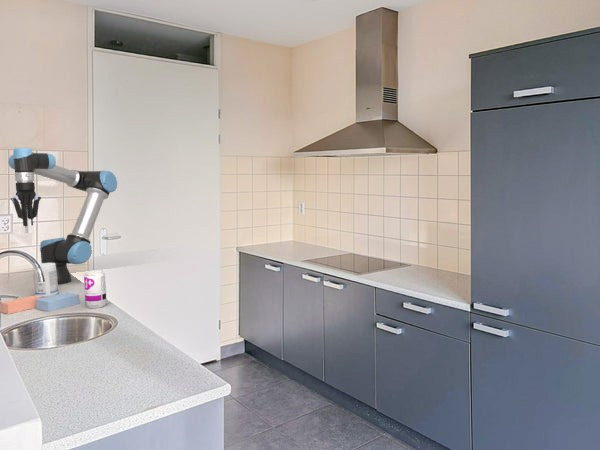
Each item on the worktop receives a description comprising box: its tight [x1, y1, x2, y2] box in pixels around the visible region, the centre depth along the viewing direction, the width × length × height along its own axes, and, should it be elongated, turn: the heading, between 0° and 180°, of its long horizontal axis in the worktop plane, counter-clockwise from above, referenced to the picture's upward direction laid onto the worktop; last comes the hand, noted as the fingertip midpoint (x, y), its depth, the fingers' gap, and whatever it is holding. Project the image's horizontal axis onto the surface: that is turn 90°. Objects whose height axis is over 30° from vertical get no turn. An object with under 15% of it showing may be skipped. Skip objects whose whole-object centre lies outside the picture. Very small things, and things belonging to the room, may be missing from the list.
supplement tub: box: [32, 262, 59, 298], centre depth 225 cm, size 10×10×15 cm
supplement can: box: [83, 269, 108, 309], centre depth 204 cm, size 8×8×15 cm
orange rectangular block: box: [0, 294, 43, 315], centre depth 202 cm, size 14×6×4 cm, turn 148°
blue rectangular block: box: [35, 291, 81, 313], centre depth 206 cm, size 14×10×4 cm
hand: (28, 233), depth 223 cm, fingers closed
